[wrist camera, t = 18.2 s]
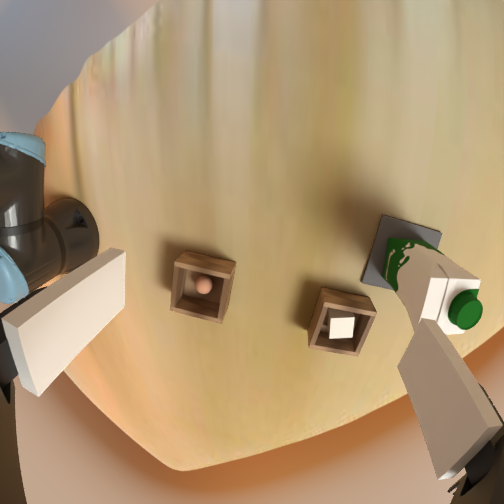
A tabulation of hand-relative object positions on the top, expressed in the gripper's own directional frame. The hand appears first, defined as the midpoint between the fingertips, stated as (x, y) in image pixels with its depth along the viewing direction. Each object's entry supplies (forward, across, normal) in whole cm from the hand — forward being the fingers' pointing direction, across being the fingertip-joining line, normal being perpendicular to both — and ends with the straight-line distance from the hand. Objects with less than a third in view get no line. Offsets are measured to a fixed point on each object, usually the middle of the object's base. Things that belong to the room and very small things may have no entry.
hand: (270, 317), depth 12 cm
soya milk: (+36, +22, -5) cm, 43 cm away
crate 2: (+37, +14, -18) cm, 43 cm away
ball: (+36, -10, -17) cm, 41 cm away
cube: (+36, +14, -18) cm, 43 cm away
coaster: (+37, +22, -5) cm, 43 cm away
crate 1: (+37, -10, -17) cm, 42 cm away
